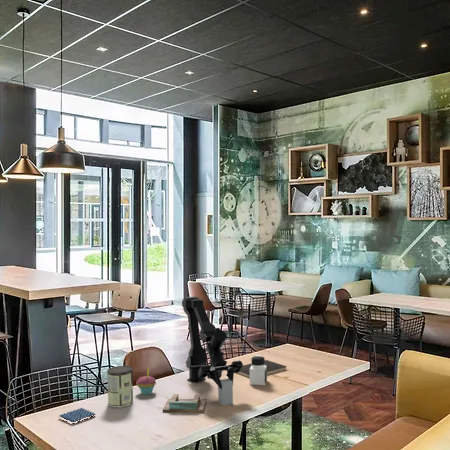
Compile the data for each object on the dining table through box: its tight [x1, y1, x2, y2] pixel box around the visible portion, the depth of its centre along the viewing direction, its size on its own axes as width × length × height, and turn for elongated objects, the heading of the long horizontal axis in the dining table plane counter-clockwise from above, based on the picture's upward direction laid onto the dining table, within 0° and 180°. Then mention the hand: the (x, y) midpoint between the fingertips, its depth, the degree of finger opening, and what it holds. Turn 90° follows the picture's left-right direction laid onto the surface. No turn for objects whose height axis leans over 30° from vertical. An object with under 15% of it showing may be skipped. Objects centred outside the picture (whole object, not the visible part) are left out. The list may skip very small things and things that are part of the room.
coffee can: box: [106, 365, 134, 408], centre depth 200 cm, size 10×10×14 cm
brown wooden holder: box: [162, 393, 208, 413], centre depth 194 cm, size 12×16×4 cm
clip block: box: [217, 378, 234, 406], centre depth 198 cm, size 4×4×9 cm
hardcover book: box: [237, 359, 288, 379], centre depth 242 cm, size 16×23×2 cm
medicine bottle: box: [249, 355, 268, 386], centre depth 223 cm, size 7×7×12 cm
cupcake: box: [135, 366, 157, 395], centre depth 212 cm, size 9×8×12 cm
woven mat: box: [59, 407, 96, 422], centre depth 185 cm, size 10×11×2 cm
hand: (226, 387), depth 197 cm, fingers closed on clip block, 4 cm apart
